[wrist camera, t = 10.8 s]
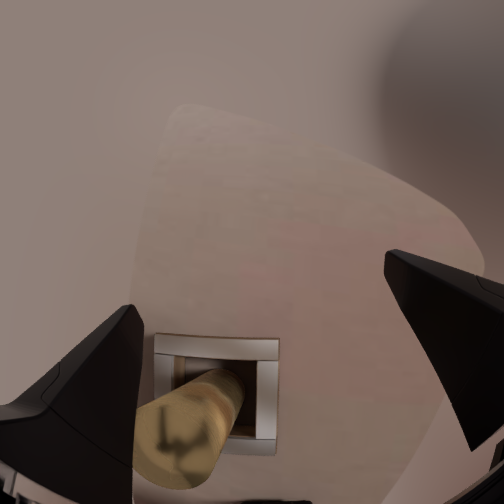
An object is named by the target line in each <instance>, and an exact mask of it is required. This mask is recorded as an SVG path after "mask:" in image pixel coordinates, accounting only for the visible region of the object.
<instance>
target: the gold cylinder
mask: <svg viewBox="0 0 504 504" xmlns="http://www.w3.org/2000/svg"><path fill="white" fill-rule="evenodd" d="M244 399H245V387H244V384H243V382H242V381H241V379H240V378H239V377H238V376H237V375H236V374H234V373H233V372H231V371H229V370H225V369H213V370H210V371H208V372H206V373H204V374H203V375H201V376H199V377H197V378H196V379H194V380H192V381H190V382H188V383H186V384H185V385H183V386H181V387H179V388H177V389H175V390H173V391H171V392H169V393H167V394H166V395H164V396H162V397H160V398H158V399H156V400H154V401H152V402H150V403H148V404H146V405H144V406H141V407H139V408H137V410H136V420H135V432H134V446H133V468H134V469H135V470H136V471H137V472H138V473H139V474H140V475H141V476H143V477H144V478H145V479H147V480H148V481H150V482H152V483H154V484H156V485H159V486H161V487H165V488H169V489H176V490H184V489H191V488H194V487H197V486H199V485H201V484H202V483H203V482H205V481H206V480H207V479H208V478H209V476H210V475H211V473H212V471H213V469H214V467H215V464H216V462H217V460H218V458H219V456H220V454H221V452H222V449H223V447H224V445H225V443H226V441H227V438H228V436H229V434H230V432H231V429H232V427H233V425H234V422H235V420H236V418H237V416H238V413H239V411H240V408H241V406H242V404H243V401H244Z"/></svg>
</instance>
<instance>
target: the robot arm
mask: <svg viewBox="0 0 504 504" xmlns="http://www.w3.org/2000/svg"><path fill="white" fill-rule="evenodd" d="M384 276H385V279H386V281H387V283H388V285H389V287H390V289H391V291H392V293H393V295H394V297H395V299H396V301H397V303H398V305H399V307H400V309H401V311H402V312H403V314H404V316H405V318H406V319H407V321H408V323H409V324H410V326H411V328H412V329H413V331H414V333H415V334H416V336H417V338H418V340H419V341H420V343H421V345H422V347H423V349H424V350H425V352H426V354H427V356H428V358H429V360H430V362H431V363H432V365H433V367H434V369H435V371H436V373H437V375H438V377H439V379H440V381H441V383H442V385H443V387H444V389H445V391H446V393H447V395H448V398H449V399H450V402H451V403H452V407H453V409H454V411H455V413H456V416H457V418H458V420H459V423H460V425H461V428H462V430H463V432H464V435H465V438H466V440H467V443H468V445H469V448H470V450H471V452H472V451H474V450H475V449H477V448H478V447H479V446H481V445H482V444H483V443H485V442H486V441H487V440H488V439H490V438H491V437H492V436H493V435H494V434H496V433H497V432H498V431H499V430H501V429H502V428H503V427H504V284H501V283H497V282H494V281H491V280H489V279H486V278H483V277H480V276H477V275H476V276H475V275H474V274H471V273H469V272H466V271H463V270H460V269H457V268H454V267H451V266H448V265H445V264H442V263H439V262H436V261H433V260H430V259H427V258H424V257H420V256H417V255H414V254H411V253H408V252H404V251H401V250H398V249H394V250H390V251H387V252H386V254H385V262H384ZM143 339H144V323H143V321H142V319H141V317H140V315H139V313H138V311H137V309H136V307H135V306H134V305H132V304H129V305H124V306H122V307H120V308H119V309H118V310H117V311H116V312H115V313H114V314H112V315H111V316H110V317H109V318H108V319H107V320H105V321H104V322H103V323H102V324H101V325H100V326H98V327H97V328H96V329H95V330H94V331H93V332H91V333H90V334H89V335H88V336H87V337H86V338H85V339H84V340H82V341H81V342H80V343H79V344H78V345H77V346H76V347H75V348H74V349H72V350H71V351H70V352H69V353H68V354H67V355H66V356H65V357H63V359H61V361H60V362H58V363H57V364H56V365H55V366H54V367H53V368H51V369H50V370H49V371H48V372H47V373H46V374H45V375H44V376H43V377H41V378H40V379H39V380H38V381H37V382H36V383H34V384H33V385H32V386H31V387H30V388H28V389H27V390H26V391H25V392H24V393H22V394H21V395H20V396H19V397H18V398H17V399H15V400H14V401H12V402H11V403H9V404H6V405H0V504H132V473H133V470H132V468H133V446H134V432H135V420H136V410H137V400H138V392H139V384H140V376H141V369H142V359H143ZM241 504H312V502H311V501H299V502H242V503H241ZM444 504H504V439H502V440H501V441H500V442H499V443H498V444H497V445H496V449H495V453H494V456H493V460H492V463H491V467H490V470H489V472H488V473H487V474H486V475H485V476H483V477H482V478H480V479H479V480H478V481H476V482H475V483H474V484H472V485H471V486H470V487H468V488H467V489H465V490H464V491H462V492H461V493H459V494H458V495H457V496H455V497H453V498H452V499H450V500H449V501H447V502H445V503H444Z"/></svg>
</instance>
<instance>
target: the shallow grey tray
mask: <svg viewBox="0 0 504 504" xmlns="http://www.w3.org/2000/svg"><path fill="white" fill-rule="evenodd" d="M154 352H155V354H154V400H156V399H158V398H160V397H162V396H164V395H166V394H167V393H169V392H171V391H173V390H175V389H177V388H179V387H181V386H183V385H185V357H196V358H210V359H227V360H256V415H255V426H248V425H233V427H232V429H231V432H230V434H229V436H228V438H227V441H226V443H225V445H224V447H223V449H222V452H221V453H224V454H236V455H257V456H275V454H276V452H277V429H278V400H279V354H280V338H244V337H216V336H198V335H183V334H171V333H156V334H155V335H154Z"/></svg>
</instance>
